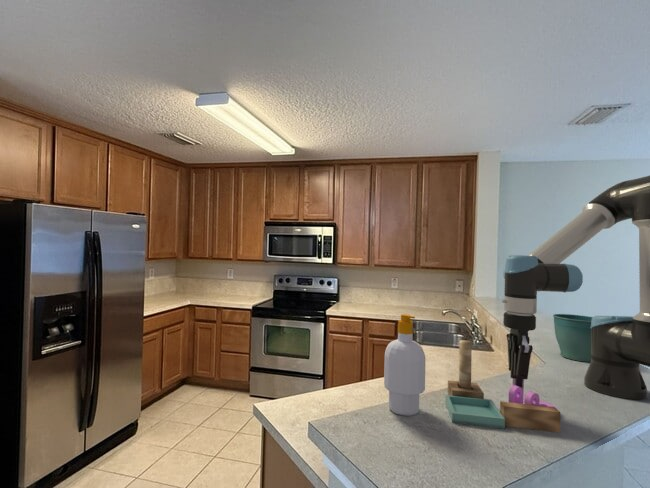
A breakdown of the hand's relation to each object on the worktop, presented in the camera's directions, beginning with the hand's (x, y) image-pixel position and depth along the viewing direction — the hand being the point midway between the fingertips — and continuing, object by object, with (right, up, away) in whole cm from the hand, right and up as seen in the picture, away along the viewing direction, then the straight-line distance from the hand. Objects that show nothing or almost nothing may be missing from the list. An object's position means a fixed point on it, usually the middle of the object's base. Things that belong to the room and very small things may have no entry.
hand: (516, 402), depth 93 cm
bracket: (+3, -2, -3) cm, 5 cm away
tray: (-14, -1, -5) cm, 15 cm away
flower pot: (+55, -6, +53) cm, 77 cm away
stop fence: (-2, -1, -10) cm, 10 cm away
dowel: (-12, -2, +5) cm, 13 cm away
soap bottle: (-31, -1, -3) cm, 31 cm away
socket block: (-12, -2, +5) cm, 13 cm away
